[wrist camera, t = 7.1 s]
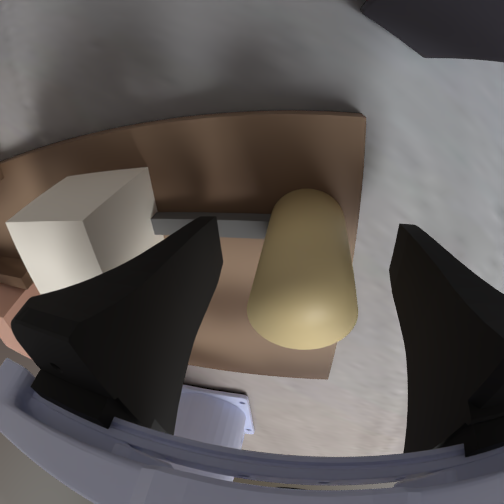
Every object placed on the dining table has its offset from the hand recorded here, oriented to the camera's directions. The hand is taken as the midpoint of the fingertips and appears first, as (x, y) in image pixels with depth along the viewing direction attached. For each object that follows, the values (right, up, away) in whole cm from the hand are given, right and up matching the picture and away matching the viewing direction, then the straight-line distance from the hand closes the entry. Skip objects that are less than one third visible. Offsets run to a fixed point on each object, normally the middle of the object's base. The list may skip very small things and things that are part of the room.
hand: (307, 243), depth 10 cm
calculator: (+6, +11, -6) cm, 14 cm away
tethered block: (-5, +1, +2) cm, 5 cm away
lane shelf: (-11, -1, +6) cm, 13 cm away
